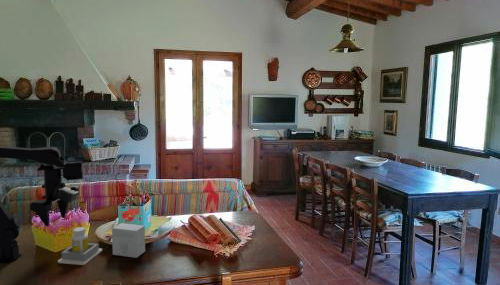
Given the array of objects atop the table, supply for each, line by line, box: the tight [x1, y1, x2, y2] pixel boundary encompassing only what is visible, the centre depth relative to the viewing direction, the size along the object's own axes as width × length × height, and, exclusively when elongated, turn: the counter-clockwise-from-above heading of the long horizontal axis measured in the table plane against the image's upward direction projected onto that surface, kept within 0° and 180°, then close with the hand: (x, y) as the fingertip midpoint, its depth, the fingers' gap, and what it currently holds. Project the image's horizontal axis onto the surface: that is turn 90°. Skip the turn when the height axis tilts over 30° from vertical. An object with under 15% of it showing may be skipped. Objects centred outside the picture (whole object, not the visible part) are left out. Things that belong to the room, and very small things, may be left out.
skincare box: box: [111, 222, 146, 259], centre depth 137 cm, size 10×6×10 cm, turn 76°
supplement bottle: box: [71, 226, 89, 253], centre depth 133 cm, size 5×5×10 cm
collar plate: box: [57, 242, 103, 266], centre depth 134 cm, size 10×12×3 cm
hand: (55, 221), depth 136 cm, fingers open, 9 cm apart
